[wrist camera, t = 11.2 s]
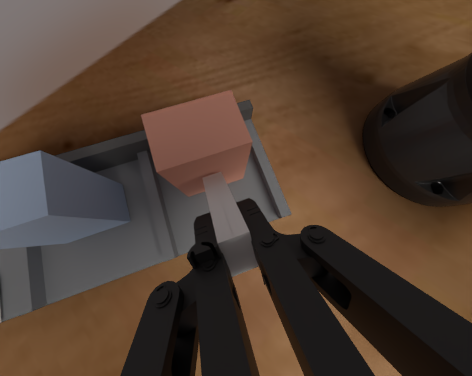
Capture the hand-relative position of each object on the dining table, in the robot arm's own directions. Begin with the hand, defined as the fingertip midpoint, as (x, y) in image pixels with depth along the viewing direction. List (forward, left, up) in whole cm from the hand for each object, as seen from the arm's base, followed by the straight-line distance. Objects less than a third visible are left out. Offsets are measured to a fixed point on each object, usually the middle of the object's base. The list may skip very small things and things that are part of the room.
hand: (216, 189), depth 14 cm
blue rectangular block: (+12, -3, -5) cm, 13 cm away
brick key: (0, -3, -5) cm, 6 cm away
